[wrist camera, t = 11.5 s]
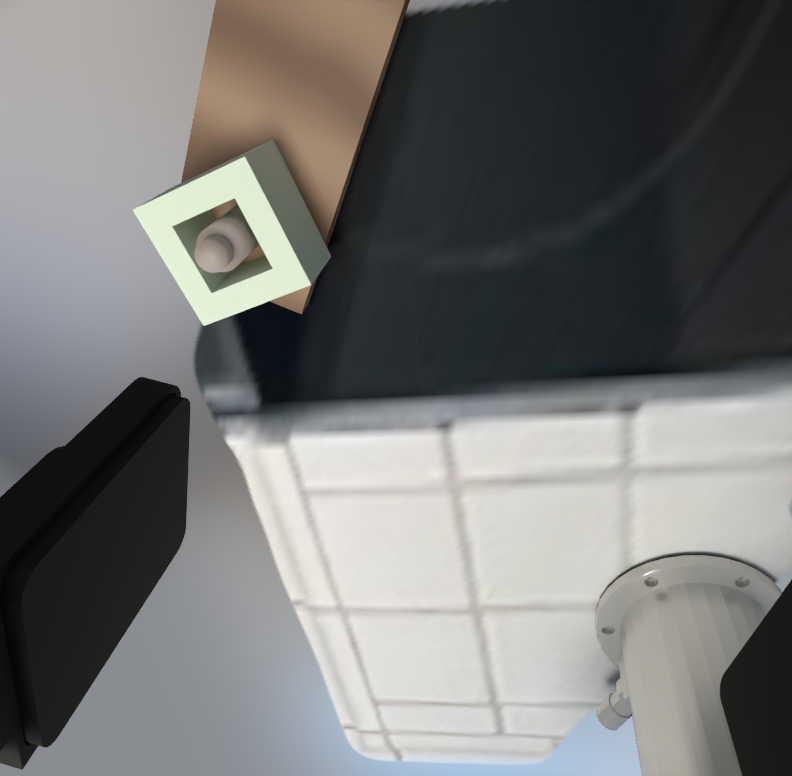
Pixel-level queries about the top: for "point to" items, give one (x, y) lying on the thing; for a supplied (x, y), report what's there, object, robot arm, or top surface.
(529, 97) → the top surface
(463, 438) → the top surface
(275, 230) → the collar
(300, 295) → the board
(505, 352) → the top surface
